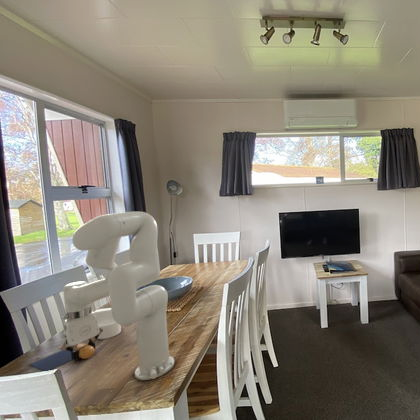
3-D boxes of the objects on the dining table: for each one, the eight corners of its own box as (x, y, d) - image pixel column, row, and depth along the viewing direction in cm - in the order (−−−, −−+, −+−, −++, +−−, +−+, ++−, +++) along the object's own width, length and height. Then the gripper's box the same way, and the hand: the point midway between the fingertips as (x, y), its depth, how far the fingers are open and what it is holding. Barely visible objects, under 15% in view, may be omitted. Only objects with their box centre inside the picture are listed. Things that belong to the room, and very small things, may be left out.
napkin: (84, 353, 112) (84, 353, 112) (46, 372, 101) (46, 371, 101) (68, 347, 116) (68, 347, 116) (30, 365, 105) (29, 364, 105)
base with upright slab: (123, 327, 133) (121, 303, 132) (117, 336, 124) (114, 311, 123) (101, 331, 129) (99, 307, 128) (93, 340, 121) (90, 315, 120)
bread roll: (97, 355, 110) (96, 344, 109) (84, 362, 105) (83, 351, 105) (84, 350, 113) (83, 340, 113) (70, 356, 109) (69, 346, 108)
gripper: (57, 324, 99) (63, 371, 100) (108, 305, 114) (112, 346, 116) (46, 321, 101) (51, 367, 103) (97, 303, 117) (102, 342, 119)
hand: (84, 355), depth 109 cm, fingers closed on bread roll, 4 cm apart
